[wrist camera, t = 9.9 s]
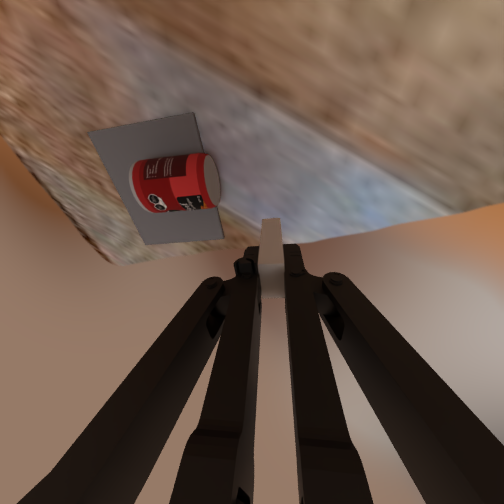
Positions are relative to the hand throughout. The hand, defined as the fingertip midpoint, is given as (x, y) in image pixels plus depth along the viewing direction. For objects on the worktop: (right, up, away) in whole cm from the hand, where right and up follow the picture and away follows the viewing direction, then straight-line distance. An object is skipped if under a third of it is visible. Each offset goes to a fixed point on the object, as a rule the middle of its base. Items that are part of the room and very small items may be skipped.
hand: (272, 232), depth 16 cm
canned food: (-8, +9, +12) cm, 17 cm away
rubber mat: (-18, +10, +18) cm, 27 cm away
